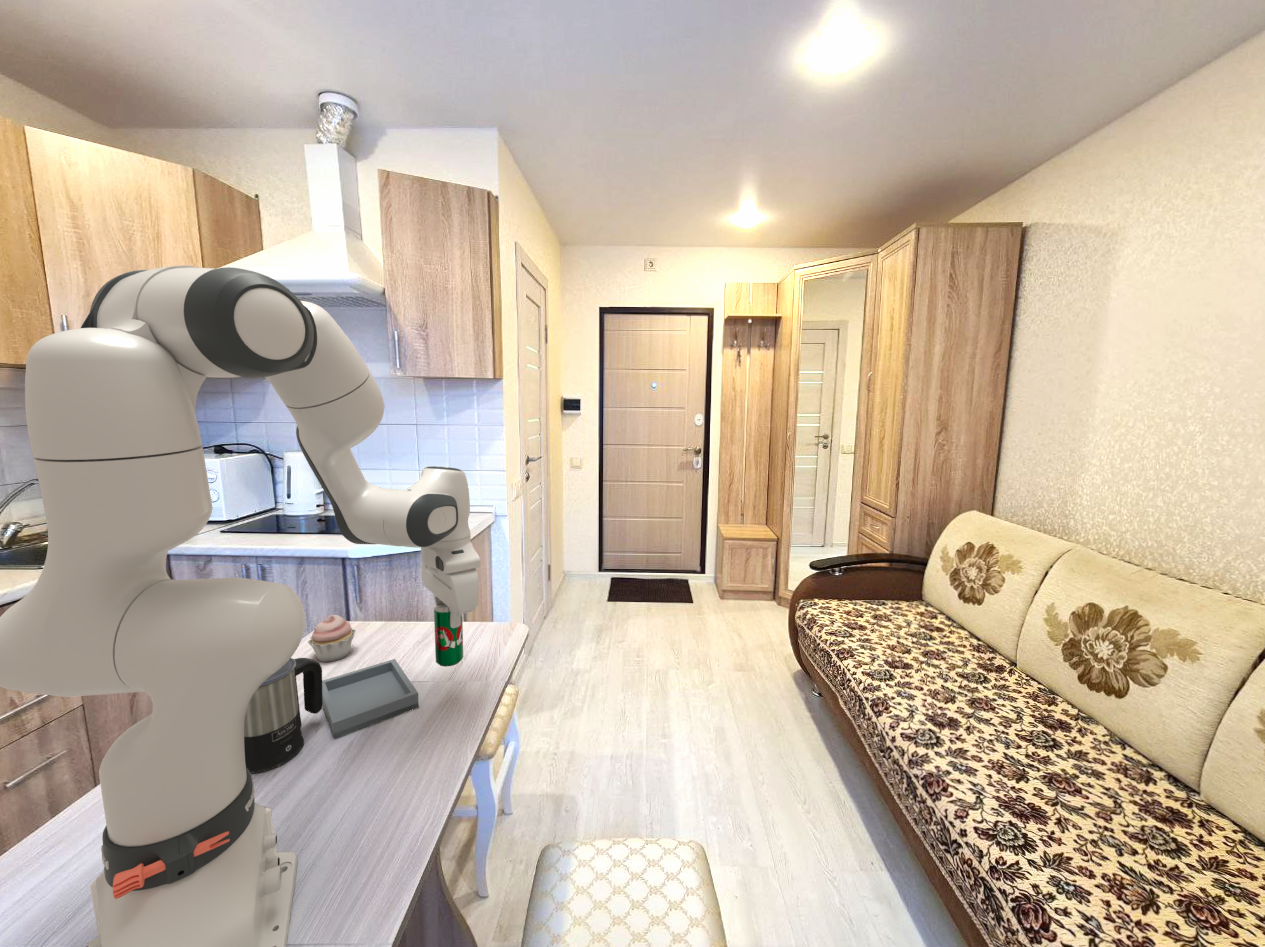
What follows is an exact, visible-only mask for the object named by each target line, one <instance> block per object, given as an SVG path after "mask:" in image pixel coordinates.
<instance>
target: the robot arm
mask: <svg viewBox="0 0 1265 947" xmlns="http://www.w3.org/2000/svg"><path fill="white" fill-rule="evenodd" d="M24 374H25V376H24V402H25V403H24V404H25V406H24V407H25V419H26V426H27V433H28V439H29V443H30V448H31V453H32V457H33V459H32V460H33V463H34V468H35V472H36V476H37V480H38V485H39V489H40V493H41V494H40V496H41V499H42V505H43V510H44V516H45V521H46V528H47V552H46V557H45V560H44V564H43V568H42V571H41V572H40V575H39V577H38V579H37V581H36V583H35V585H34V586H33V587H32V588H31V590H30V591H29V592H28V593H27V594H26V595H25V596H24V597H23V598H21V599H20V600H19V601H17V602H15V603H14V604H13V605H11V606H10V607H9V608H8V609H7V610H5V612H3V614H1V616H0V687H1V688H3V689H6V690H8V691H9V690H10V691H14V692H22V693H28V694H36V695H45V696H54V697H64V698H67V697H68V698H71V697H72V698H73V697H81V696H82V697H84V696H99V695H100V696H101V695H111V694H115V695H116V694H129V693H146V694H147V695H148V696H149V698H150V699H151V703H152V713H151V714H149V715H148V716H146V717H143V719H141V720H139V721H137V722H136V723H134V724H133V725H132V726H130V727H128V729H126V730H125V731H124V732H122V733H121V734H120V735H119V736H118V737H116V739H115V741H114V742H113V743H112V744H111V745H110V747H109V749H108V750H107V751H106V754H105V755H104V757H103V759H102V760H101V763H100V765H99V771H98V777H99V782H100V784H99V785H100V790H101V797H102V805H103V809H104V810H103V811H104V818H105V819H104V820H105V826H104V829H103V831H102V840H101V841H102V845H101V849H100V850H101V861H102V865H103V871H102V872H101V873H100V874H99V875H98V876H97V877H96V879H95V880H94V881H93V882H92V883H91V884H90V892H91V898H92V904H93V909H94V910H93V911H94V916H95V923H96V928H97V934H98V935H97V937H95V938H94V939H92V940H90V941H89V942H87V946H86V947H287V944H288V943H287V942H288V936H289V929H290V919H291V914H292V906H293V898H294V891H295V890H294V889H295V883H296V877H297V876H296V875H297V868H298V859H297V856H296V855H297V854H296V853H295V852H292V851H279V852H277V848H276V847H277V846H278V834H277V833H276V832H274V825H273V818H272V817H273V816H272V815H273V814H272V809H271V808H268V807H267V806H263V805H260V804H259V803H256V802H255V790H256V789H255V783H254V780H253V777H252V773H250V771H249V770H248V768H246V763H245V748H244V720H245V714H246V711H247V707H248V705H249V702H250V700H251V698H252V696H253V694H254V693H255V691H256V690H257V689H258V687H259V686H260V685H261V684H262V683H263V682H264V681H265V680H266V679H267V678H268V677H270V676H271V675H272V674H274V673H275V672H277V671H278V670H279V669H280V668H281V667H282V666H284V665H285V664H286V663H287V661H288V660H289V659H290V658H293V655H294V654H295V653H296V651H297V650H298V648H299V646H300V644H301V642H302V639H303V637H304V633H305V628H306V613H305V609H304V608H305V607H304V605H303V603H302V601H301V598H300V597H299V596H298V594H297V593H296V591H294V589H292V587H290V586H288V584H285V583H279V582H272V581H267V580H262V579H253V578H247V577H246V578H245V577H220V578H219V577H218V578H193V579H191V578H189V579H188V578H187V579H173V578H171V577H170V576H169V575H168V572H167V567H166V566H167V565H166V564H167V556H168V552H169V551H171V550H173V549H175V548H177V547H179V546H180V545H181V546H182V544H184V543H186V542H188V541H189V540H191V539H192V538H194V537H195V536H197V535H198V534H199V533H200V532H201V531H202V530H203V529H204V528H205V526H206V525H207V523H208V522H209V521H210V518H211V516H212V511H213V502H212V498H211V497H212V496H211V490H210V489H211V488H210V484H209V479H208V478H209V477H208V472H207V467H206V466H207V465H206V459H205V452H204V449H203V448H204V447H203V442H202V437H201V431H200V427H199V423H198V419H197V414H196V412H197V409H196V408H197V407H196V406H197V399H198V394H199V392H200V389H201V387H202V385H203V383H204V381H205V380H206V379H207V378H218V379H219V378H222V379H224V378H227V379H229V378H240V377H243V378H249V379H251V378H252V379H256V378H257V379H258V378H259V379H260V378H265V379H266V380H267V381H268V382H269V383H270V385H271V386H272V387H273V389H274V391H275V393H276V394H277V395H278V397H279V398H280V400H281V401H282V402H283V404H284V405H285V407H286V409H287V410H288V411H289V412H290V415H291V416H292V418H293V419H294V421H295V424H296V430H295V434H296V440H297V443H298V445H299V447H300V450H301V452H302V454H303V456H304V458H305V460H306V461H307V464H308V466H309V467H310V469H311V470H312V472H313V474H314V476H315V478H316V479H317V481H318V482H319V485H320V486H321V488H322V490H323V492H324V493H325V495H326V496H327V499H328V500H329V502H330V504H331V508H332V510H333V513H334V514H333V515H334V517H335V521H336V525H337V528H338V529H339V530H338V531H339V532H340V533H341V535H342V536H343V537H344V539H346V540H347V541H349V542H350V543H353V544H356V545H383V546H393V547H405V548H420V560H421V562H420V563H421V581H422V585H423V586H424V587H425V588H426V589H427V590H428V591H430V592H431V594H432V595H433V600H434V603H435V605H436V603H437V602H438V601H440V600H441V601H442V602H443V603H444V604H446V605H447V606H448V607H449V610H450V611H451V612H450V617H448V621H449V623H448V624H449V626H450V627H451V628H456V627H459V626H460V625H461V615H462V616H463V615H465V614H468V613H472V612H475V611H476V609H477V607H478V605H479V588H480V587H479V572H478V570H477V569H478V568H480V567H481V557H480V556H479V554H478V553H477V551H476V549H475V548H474V545H473V543H472V541H471V540H472V539H471V537H472V536H471V530H470V527H469V517H470V515H471V503H470V502H471V500H470V499H471V498H470V491H469V490H470V489H469V485H468V484H469V483H468V479H467V476H466V473H465V471H463V470H461V469H460V468H456V467H447V466H446V467H445V466H436V465H435V466H434V465H433V466H432V465H431V466H426V467H424V468H422V470H421V473H420V474H421V475H420V477H419V479H418V480H417V481H416V482H415V483H414V484H412V485H411V486H410V487H408V488H407V489H398V488H397V489H394V488H383V487H380V486H377V485H376V484H375V485H374V484H372V483H370V482H369V481H368V480H366V478H365V476H364V475H363V471H362V470H361V468H360V466H359V463H358V462H357V460H356V458H355V456H354V454H353V451H352V449H351V448H354V447H356V446H357V445H359V444H361V443H362V442H364V441H365V440H366V439H367V438H368V437H370V436H372V434H373V433H374V432H375V431H376V430H377V429H378V427H379V426H380V424H381V422H382V420H383V417H384V413H385V407H386V406H385V402H384V398H383V395H382V391H381V389H380V387H379V385H378V383H377V381H376V379H375V378H374V376H373V374H372V373H371V370H369V367H368V365H367V364H366V362H365V360H364V359H363V357H362V355H361V354H360V352H359V351H358V350H357V348H356V347H355V345H354V344H353V342H352V341H351V340H350V338H349V337H348V336H347V334H346V333H345V331H344V330H343V329H342V327H340V325H339V324H338V323H337V321H336V320H335V318H333V317H332V316H331V315H330V313H329V312H328V311H327V310H326V309H324V307H322V306H320V305H318V304H316V303H313V302H311V301H307V300H300V299H299V297H298V296H297V295H295V294H294V293H293V292H292V291H291V290H290V289H289V288H288V287H286V286H285V285H284V284H282V283H281V282H279V281H277V280H276V279H274V278H272V277H270V276H268V275H266V274H263V273H259V272H257V271H253V270H249V269H244V268H240V267H239V268H238V267H229V266H228V267H218V268H215V267H214V268H212V267H199V266H198V267H197V266H194V265H172V266H163V267H158V268H152V269H137V270H132V271H127V272H125V273H122V274H119V275H117V276H115V277H113V278H111V279H109V280H108V281H107V282H106V283H104V285H102V286H101V287H100V288H99V290H98V291H97V293H96V294H95V296H94V298H93V300H92V302H91V305H90V309H89V312H88V315H86V318H85V320H83V323H81V326H80V328H79V327H78V328H73V329H67V330H63V331H58V332H55V333H52V334H49V335H46V336H44V337H43V338H41V339H38V341H36V342H34V344H33V345H31V347H30V349H29V351H28V353H27V357H26V362H25V373H24Z"/></svg>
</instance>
